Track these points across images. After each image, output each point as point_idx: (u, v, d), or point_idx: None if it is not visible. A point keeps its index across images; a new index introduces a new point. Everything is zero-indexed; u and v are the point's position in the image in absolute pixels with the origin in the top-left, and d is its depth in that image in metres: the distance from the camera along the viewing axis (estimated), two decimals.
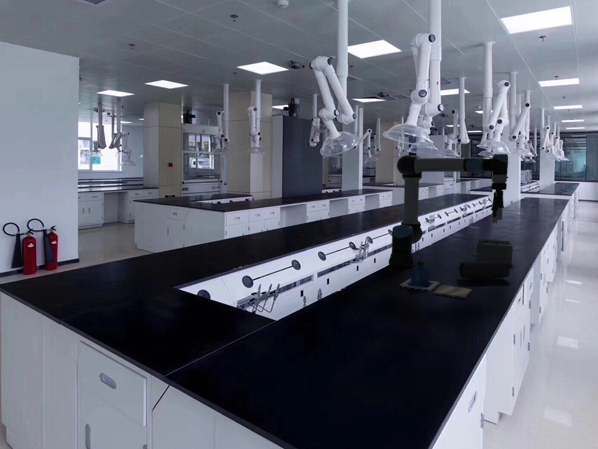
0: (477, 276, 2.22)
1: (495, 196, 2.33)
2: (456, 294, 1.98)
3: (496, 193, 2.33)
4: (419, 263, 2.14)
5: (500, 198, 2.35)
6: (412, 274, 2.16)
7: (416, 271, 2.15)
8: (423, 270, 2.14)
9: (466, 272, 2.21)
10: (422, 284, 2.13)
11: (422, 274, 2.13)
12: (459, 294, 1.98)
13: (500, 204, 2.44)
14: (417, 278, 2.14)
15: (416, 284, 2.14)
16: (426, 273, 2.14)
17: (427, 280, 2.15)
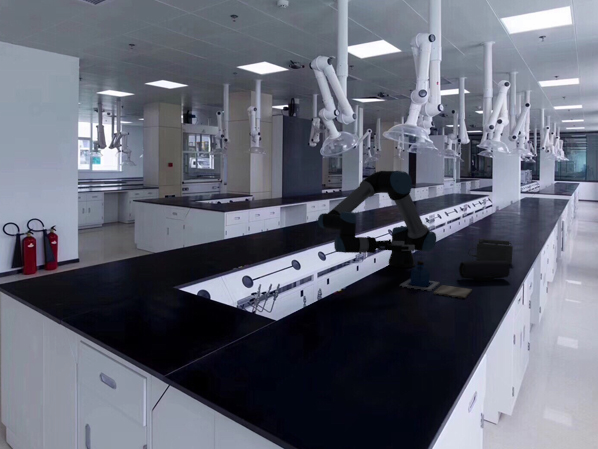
0: (477, 276, 2.22)
1: None
2: (456, 294, 1.98)
3: None
4: (419, 263, 2.14)
5: None
6: (412, 274, 2.16)
7: (416, 271, 2.15)
8: (423, 270, 2.14)
9: (466, 272, 2.21)
10: (422, 284, 2.13)
11: (422, 274, 2.13)
12: (459, 294, 1.98)
13: None
14: (417, 278, 2.14)
15: (416, 284, 2.14)
16: (426, 273, 2.14)
17: (427, 280, 2.15)
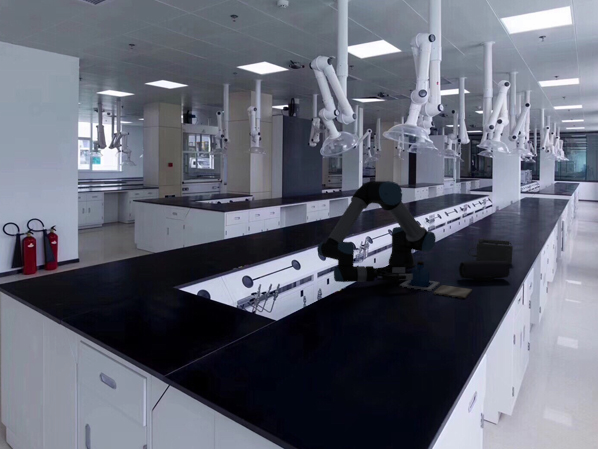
0: (477, 276, 2.22)
1: None
2: (456, 294, 1.98)
3: None
4: (419, 263, 2.14)
5: None
6: None
7: (416, 271, 2.15)
8: (423, 270, 2.14)
9: (466, 272, 2.21)
10: (422, 284, 2.13)
11: (422, 274, 2.13)
12: (459, 294, 1.98)
13: None
14: (417, 278, 2.14)
15: (416, 284, 2.14)
16: (426, 273, 2.14)
17: (427, 280, 2.15)
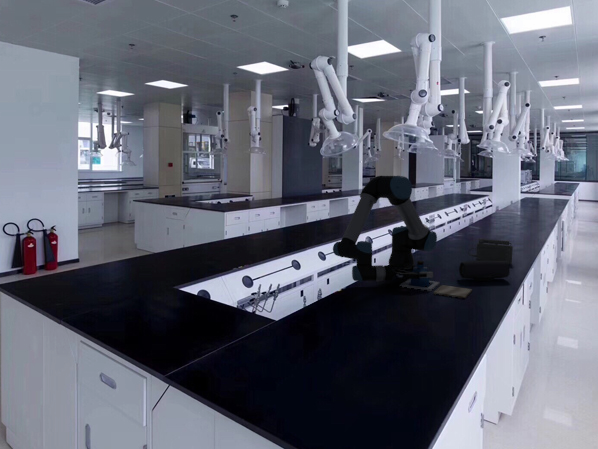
0: (477, 276, 2.22)
1: None
2: (456, 294, 1.98)
3: None
4: (419, 263, 2.14)
5: None
6: None
7: (416, 271, 2.15)
8: (423, 270, 2.14)
9: (466, 272, 2.21)
10: (422, 284, 2.13)
11: None
12: (459, 294, 1.98)
13: None
14: None
15: (416, 283, 2.14)
16: None
17: (427, 280, 2.15)
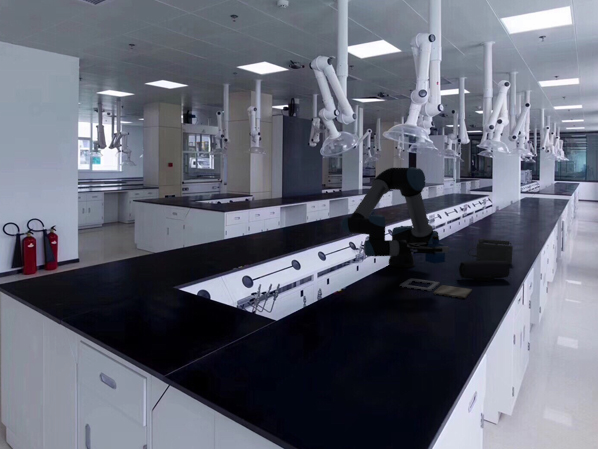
0: (477, 276, 2.22)
1: None
2: (456, 294, 1.98)
3: None
4: (434, 238, 2.05)
5: None
6: None
7: (431, 246, 2.05)
8: (438, 245, 2.04)
9: (466, 272, 2.21)
10: (438, 260, 2.04)
11: None
12: (459, 294, 1.98)
13: None
14: None
15: (431, 259, 2.05)
16: None
17: (443, 255, 2.05)
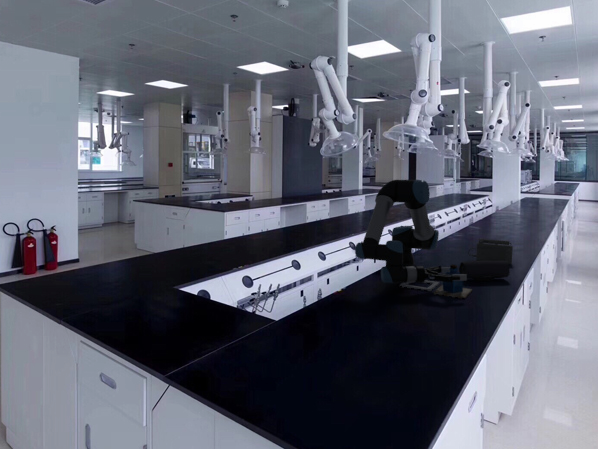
0: (477, 276, 2.22)
1: None
2: (456, 294, 1.98)
3: None
4: (452, 267, 2.01)
5: None
6: None
7: None
8: None
9: (466, 272, 2.21)
10: (456, 290, 2.01)
11: None
12: (459, 294, 1.98)
13: None
14: (450, 283, 2.01)
15: (449, 289, 2.01)
16: None
17: (461, 285, 2.02)
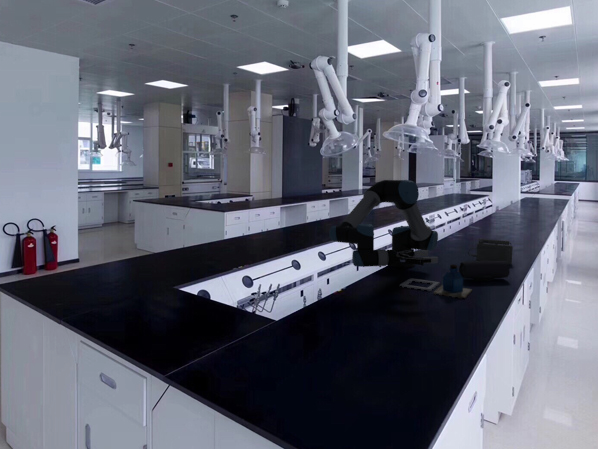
0: (477, 276, 2.22)
1: None
2: (456, 294, 1.98)
3: None
4: (452, 267, 2.01)
5: None
6: (444, 278, 2.04)
7: (449, 275, 2.02)
8: (456, 274, 2.01)
9: (466, 272, 2.21)
10: (456, 290, 2.01)
11: (456, 278, 2.00)
12: (459, 294, 1.98)
13: None
14: (450, 283, 2.01)
15: (449, 289, 2.01)
16: (460, 277, 2.01)
17: (461, 285, 2.02)
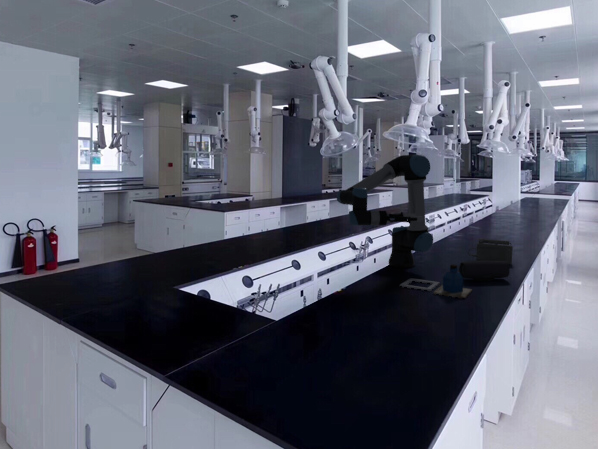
0: (477, 276, 2.22)
1: None
2: (456, 294, 1.98)
3: None
4: (452, 267, 2.01)
5: None
6: (444, 278, 2.04)
7: (449, 275, 2.02)
8: (456, 274, 2.01)
9: (466, 272, 2.21)
10: (456, 290, 2.01)
11: (456, 278, 2.00)
12: (459, 294, 1.98)
13: None
14: (450, 283, 2.01)
15: (449, 289, 2.01)
16: (460, 277, 2.01)
17: (461, 285, 2.02)
